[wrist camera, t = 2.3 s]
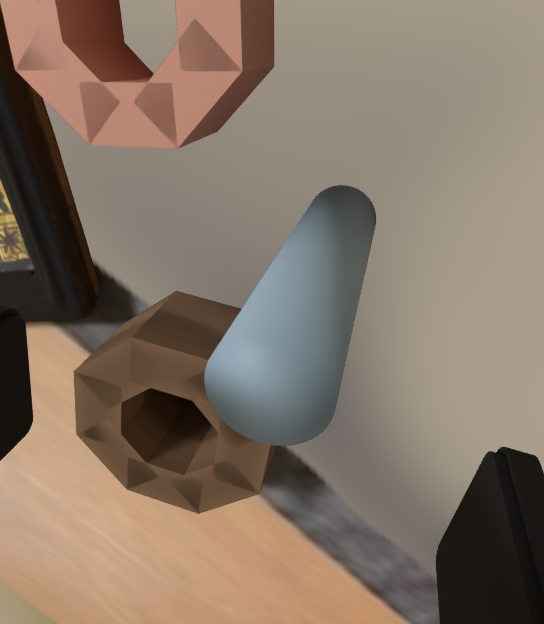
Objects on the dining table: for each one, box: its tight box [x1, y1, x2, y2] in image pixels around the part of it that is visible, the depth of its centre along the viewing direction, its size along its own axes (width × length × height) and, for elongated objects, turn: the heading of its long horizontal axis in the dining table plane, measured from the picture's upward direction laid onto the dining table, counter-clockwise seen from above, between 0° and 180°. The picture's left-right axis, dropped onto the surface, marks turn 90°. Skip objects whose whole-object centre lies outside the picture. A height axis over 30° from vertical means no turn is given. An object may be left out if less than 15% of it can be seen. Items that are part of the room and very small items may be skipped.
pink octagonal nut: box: [0, 0, 274, 149], centre depth 17 cm, size 8×8×4 cm
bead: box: [74, 291, 276, 514], centre depth 24 cm, size 9×9×4 cm
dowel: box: [204, 185, 376, 446], centre depth 15 cm, size 3×3×12 cm
